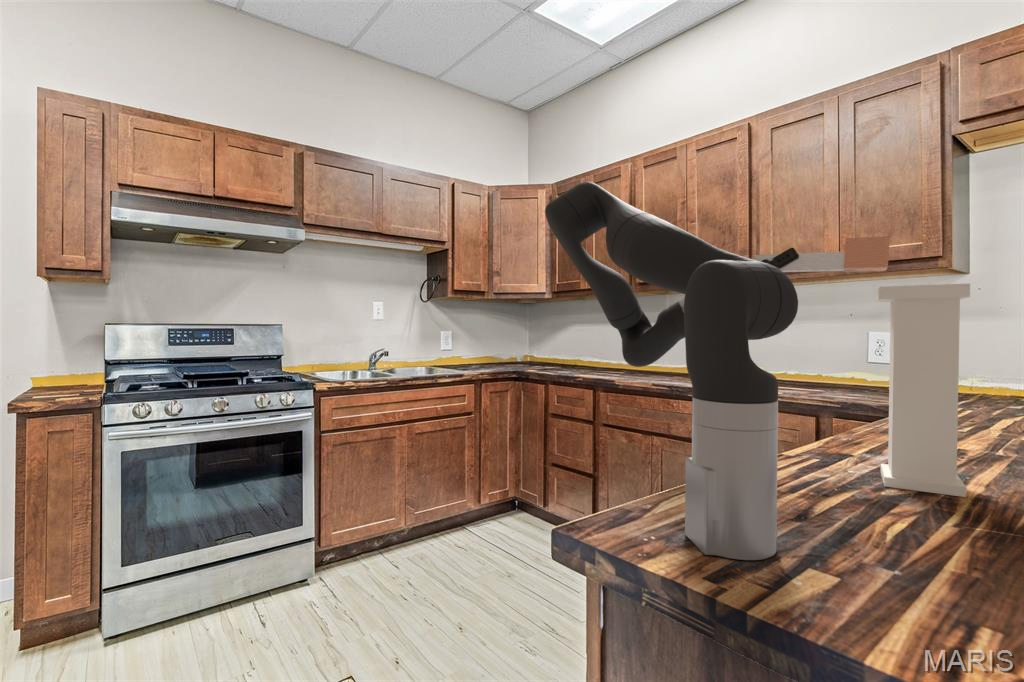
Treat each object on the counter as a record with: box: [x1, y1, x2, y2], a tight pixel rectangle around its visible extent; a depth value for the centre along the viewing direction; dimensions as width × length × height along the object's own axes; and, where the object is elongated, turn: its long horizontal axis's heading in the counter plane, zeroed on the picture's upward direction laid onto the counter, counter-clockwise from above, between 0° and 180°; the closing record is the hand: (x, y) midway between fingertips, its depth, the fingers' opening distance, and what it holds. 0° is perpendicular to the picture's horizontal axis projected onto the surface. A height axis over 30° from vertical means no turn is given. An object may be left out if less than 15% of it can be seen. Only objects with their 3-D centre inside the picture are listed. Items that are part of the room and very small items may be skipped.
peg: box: [754, 235, 891, 273], centre depth 92 cm, size 20×6×5 cm, turn 57°
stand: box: [875, 283, 971, 498], centre depth 85 cm, size 11×10×32 cm
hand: (796, 253), depth 94 cm, fingers closed on peg, 3 cm apart
